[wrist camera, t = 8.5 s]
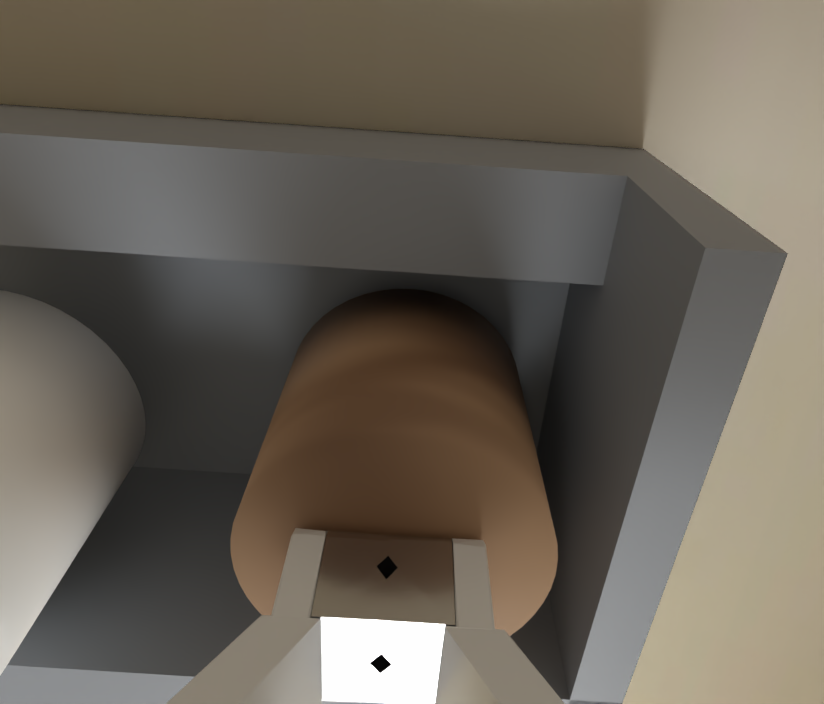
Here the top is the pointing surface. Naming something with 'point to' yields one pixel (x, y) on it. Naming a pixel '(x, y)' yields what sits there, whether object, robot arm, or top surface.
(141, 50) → the top surface
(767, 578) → the top surface
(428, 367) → the brown rounded cylinder
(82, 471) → the white cylinder
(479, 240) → the grey tray
